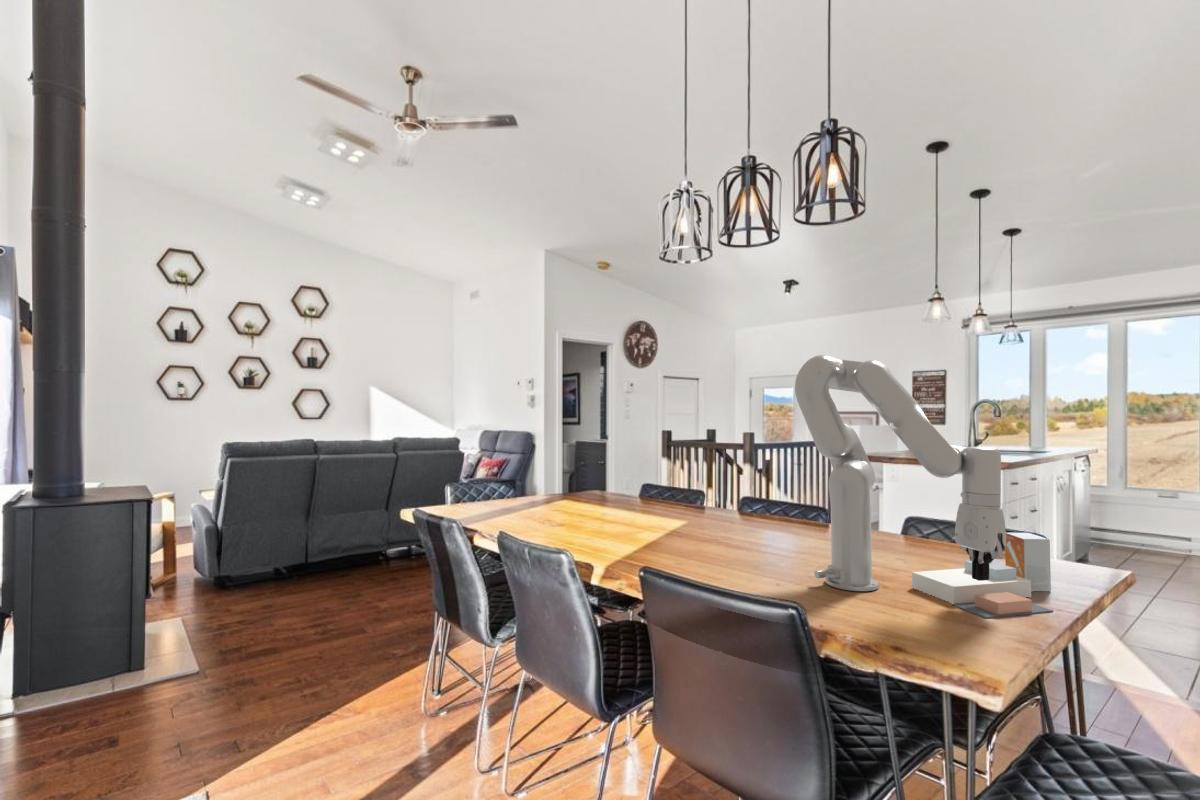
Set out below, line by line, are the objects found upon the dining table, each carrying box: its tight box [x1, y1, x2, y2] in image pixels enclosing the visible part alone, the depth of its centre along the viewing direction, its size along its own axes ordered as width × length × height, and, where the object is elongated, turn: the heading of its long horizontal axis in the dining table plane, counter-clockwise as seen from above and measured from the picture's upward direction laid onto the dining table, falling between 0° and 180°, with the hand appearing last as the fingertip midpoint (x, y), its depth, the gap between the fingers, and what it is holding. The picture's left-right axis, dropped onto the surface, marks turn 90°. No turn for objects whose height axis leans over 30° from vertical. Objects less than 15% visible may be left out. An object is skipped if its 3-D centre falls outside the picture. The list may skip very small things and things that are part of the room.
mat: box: [951, 602, 1054, 619], centre depth 133 cm, size 18×9×1 cm, turn 103°
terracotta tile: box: [975, 592, 1033, 615], centre depth 132 cm, size 9×6×2 cm, turn 103°
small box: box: [1004, 532, 1052, 593], centre depth 149 cm, size 8×6×13 cm
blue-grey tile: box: [964, 559, 1016, 580], centre depth 146 cm, size 9×6×2 cm, turn 13°
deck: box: [911, 567, 1032, 604], centre depth 145 cm, size 22×13×4 cm, turn 103°
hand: (980, 579), depth 137 cm, fingers closed
